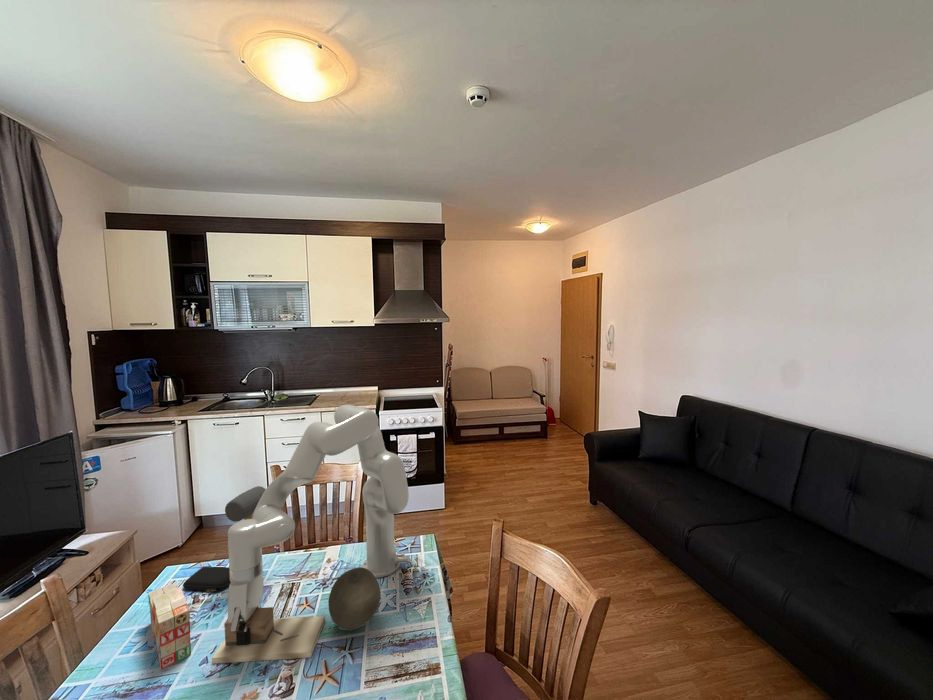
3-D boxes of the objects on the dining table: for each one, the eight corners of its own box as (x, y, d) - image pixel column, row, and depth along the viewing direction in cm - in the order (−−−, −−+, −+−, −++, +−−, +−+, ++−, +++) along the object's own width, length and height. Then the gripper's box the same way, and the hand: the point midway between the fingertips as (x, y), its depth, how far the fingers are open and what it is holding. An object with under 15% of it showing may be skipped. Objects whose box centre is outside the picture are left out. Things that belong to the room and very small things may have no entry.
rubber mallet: (247, 594, 120) (243, 501, 118) (226, 592, 121) (221, 499, 119) (273, 569, 132) (270, 485, 130) (254, 567, 133) (250, 483, 132)
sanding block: (273, 628, 104) (273, 607, 104) (265, 643, 99) (264, 621, 99) (235, 630, 103) (234, 609, 103) (225, 645, 98) (224, 623, 98)
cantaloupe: (324, 649, 99) (322, 593, 98) (334, 609, 113) (332, 560, 112) (379, 641, 101) (378, 587, 100) (382, 603, 115) (381, 555, 114)
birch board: (325, 621, 108) (324, 616, 108) (310, 657, 96) (310, 651, 96) (237, 626, 107) (237, 621, 107) (212, 663, 95) (211, 657, 95)
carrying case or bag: (176, 594, 121) (220, 596, 119) (176, 584, 121) (220, 587, 119) (202, 572, 131) (243, 574, 130) (202, 564, 131) (242, 566, 130)
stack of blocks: (149, 624, 108) (147, 582, 108) (177, 612, 113) (175, 572, 112) (160, 671, 93) (158, 622, 92) (192, 655, 98) (189, 609, 97)
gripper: (247, 551, 108) (250, 612, 109) (212, 592, 91) (215, 664, 92) (275, 549, 109) (277, 610, 110) (244, 590, 92) (247, 662, 93)
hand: (249, 634), depth 101 cm, fingers closed on sanding block, 5 cm apart
